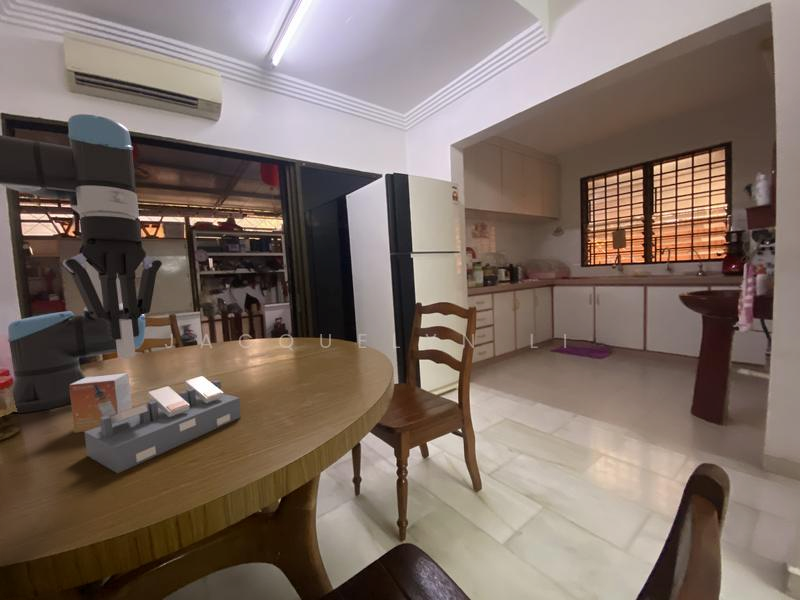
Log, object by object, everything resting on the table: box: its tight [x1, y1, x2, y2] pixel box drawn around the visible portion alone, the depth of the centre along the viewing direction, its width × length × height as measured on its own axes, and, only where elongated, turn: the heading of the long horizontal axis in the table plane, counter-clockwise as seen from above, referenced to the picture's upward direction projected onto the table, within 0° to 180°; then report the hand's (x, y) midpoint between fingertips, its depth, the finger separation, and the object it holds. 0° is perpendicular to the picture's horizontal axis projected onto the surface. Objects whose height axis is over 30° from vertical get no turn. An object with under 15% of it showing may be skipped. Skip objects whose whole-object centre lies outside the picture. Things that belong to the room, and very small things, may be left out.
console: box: [83, 380, 242, 474], centre depth 64 cm, size 12×22×8 cm, turn 152°
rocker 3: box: [184, 375, 224, 403], centre depth 70 cm, size 8×4×1 cm, turn 62°
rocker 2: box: [147, 385, 190, 417], centre depth 64 cm, size 8×4×1 cm, turn 62°
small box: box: [69, 372, 133, 434], centre depth 70 cm, size 8×6×10 cm
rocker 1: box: [111, 404, 148, 424], centre depth 58 cm, size 8×4×1 cm, turn 61°
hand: (126, 356), depth 55 cm, fingers closed
